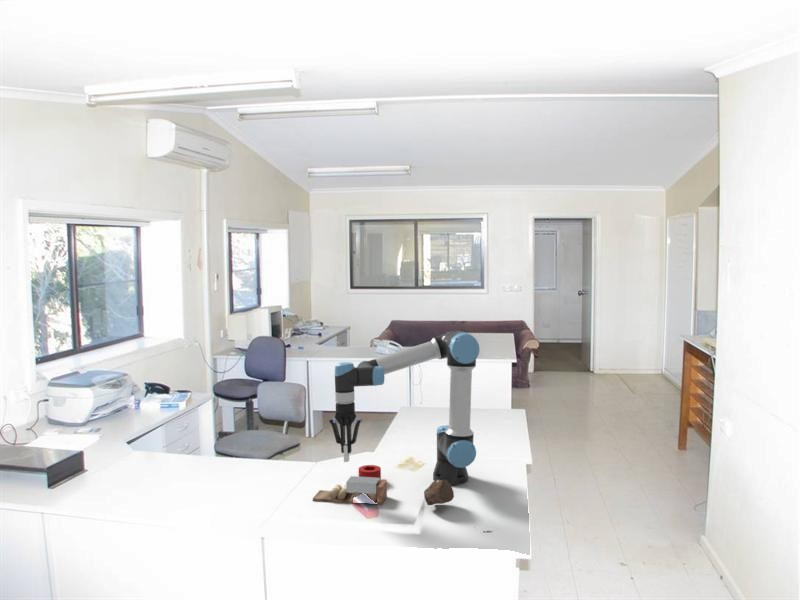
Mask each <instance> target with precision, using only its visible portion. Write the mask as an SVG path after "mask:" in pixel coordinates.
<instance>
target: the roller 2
mask: <svg viewBox="0 0 800 600" xmlns="http://www.w3.org/2000/svg"><path fill="white" fill-rule="evenodd" d="M360 494H362V493H353V494H352V499H353V498H354V497H356V496H359V495H360Z"/></svg>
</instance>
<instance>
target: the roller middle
mask: <svg viewBox="0 0 800 600" xmlns="http://www.w3.org/2000/svg"><path fill="white" fill-rule="evenodd" d="M348 493H349V492H346V484H345V485H344V486H343V487H342V489H341V491H340V492H339V493H338V498H339V499H341V500H343V499H344V498H345V497H346V495H347V494H348Z"/></svg>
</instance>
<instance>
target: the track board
mask: <svg viewBox="0 0 800 600" xmlns="http://www.w3.org/2000/svg"><path fill="white" fill-rule="evenodd" d="M331 491H332V490H321V489H319V490H318V492H317V493H316V494H315V495H314V496H313V497H312V502H329V503H341V504H343V503H344V504H354V503H353V499H352V494H353V492H349V493H348V494H347V495H346V497H345V498H344V499H343V500H341V499H339V498H338V495H337V496H336V498H335V499H331V498H330V497H329V493H330V492H331ZM364 494H366V495H367V496H368V497H369V498H370V496H371V494H369V493H364ZM387 497H388V481H387V479H386V478H385V479H384V478H381V481H380V483H379V484H378V486H377V500H376V501H374V502H375V503H377V504H378V505H377V506H382V505H384V503H385V501H386V499H387Z"/></svg>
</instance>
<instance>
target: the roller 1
mask: <svg viewBox="0 0 800 600" xmlns="http://www.w3.org/2000/svg"><path fill="white" fill-rule="evenodd" d="M342 488H343V487H342V485H341V484H336V485H335V486H334V487H333V488H332V489H331V490H330V491H331V492H330V493H329V497H330V498H331V499H335V498H336V496H337V495H338V493H339V492H340V491H341V489H342Z"/></svg>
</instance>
